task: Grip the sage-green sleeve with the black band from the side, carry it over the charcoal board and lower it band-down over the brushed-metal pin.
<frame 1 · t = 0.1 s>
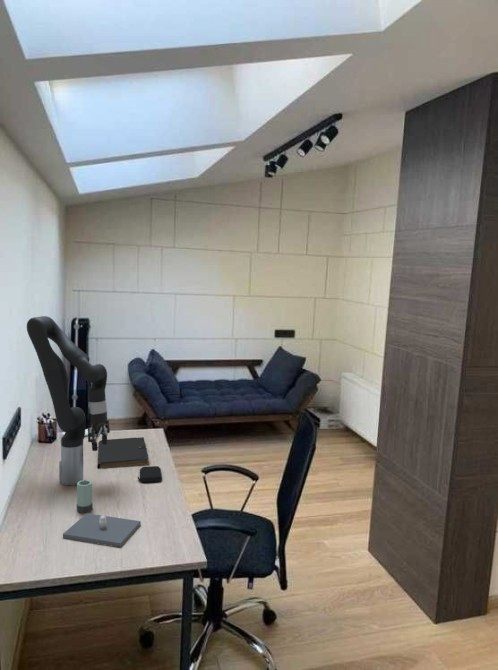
hand: (99, 447, 218), 17 cm above the table, tool pointing down, fingers open, 8 cm apart
dark grey book: (122, 456, 257), on the table
sleeve: (84, 509, 197), on the table
carrying case or bag: (149, 478, 231), on the table
pin board: (102, 531, 181), on the table
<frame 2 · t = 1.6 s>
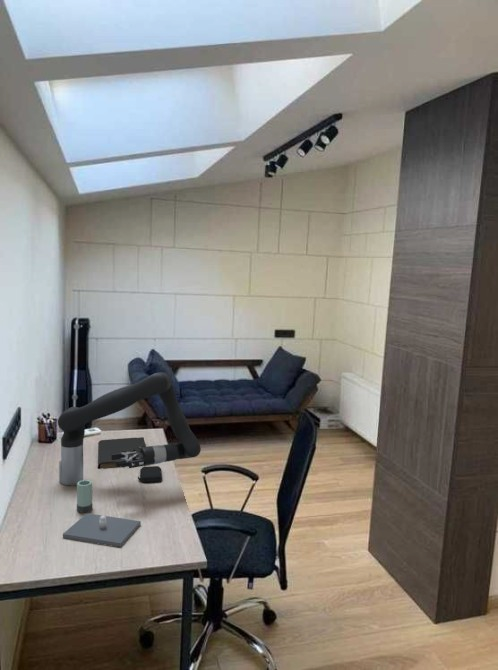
hand: (113, 461, 200), 18 cm above the table, tool horizontal, fingers open, 8 cm apart
nothing on the table moved.
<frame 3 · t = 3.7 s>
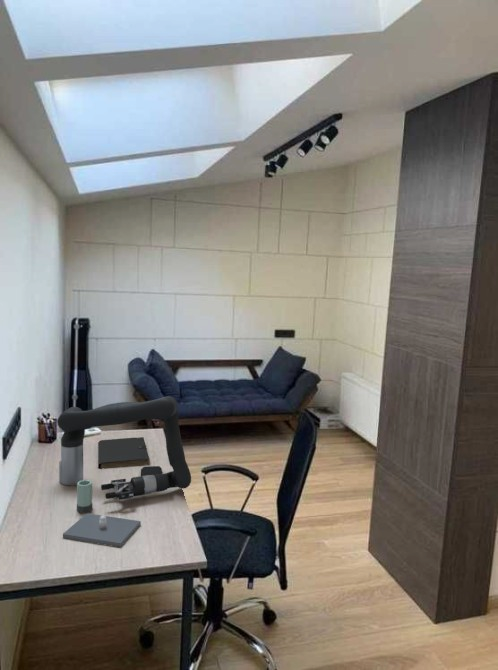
hand: (103, 491, 200), 6 cm above the table, tool horizontal, fingers open, 8 cm apart
nothing on the table moved.
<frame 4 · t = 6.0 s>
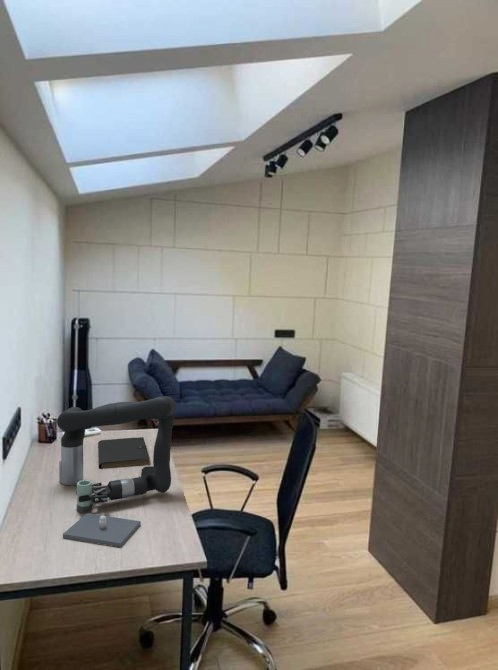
hand: (77, 496, 195), 6 cm above the table, tool horizontal, fingers closed on sleeve, 5 cm apart
sleeve: (84, 509, 197), on the table, touching gripper
everything else where it was.
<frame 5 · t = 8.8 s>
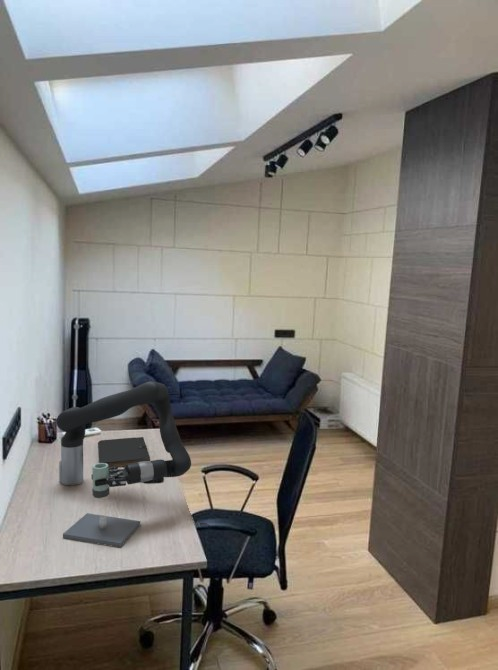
hand: (93, 480, 182), 18 cm above the table, tool horizontal, fingers closed on sleeve, 5 cm apart
sleeve: (100, 494, 184), point 12 cm above the table, touching gripper
everything else where it was.
when the fingers open (9 cm above the table, at t = 11.8 s): sleeve drops 1 cm, resting on pin board.
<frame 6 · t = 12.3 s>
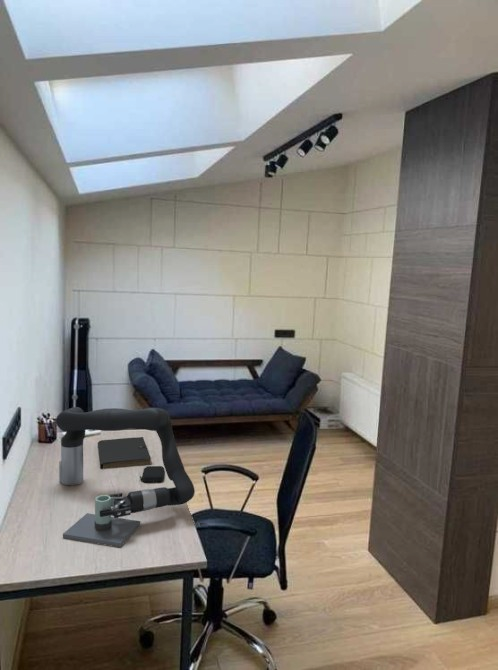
hand: (97, 508, 179), 9 cm above the table, tool horizontal, fingers open, 8 cm apart
sleeve: (103, 527, 181), point 1 cm above the table, touching pin board
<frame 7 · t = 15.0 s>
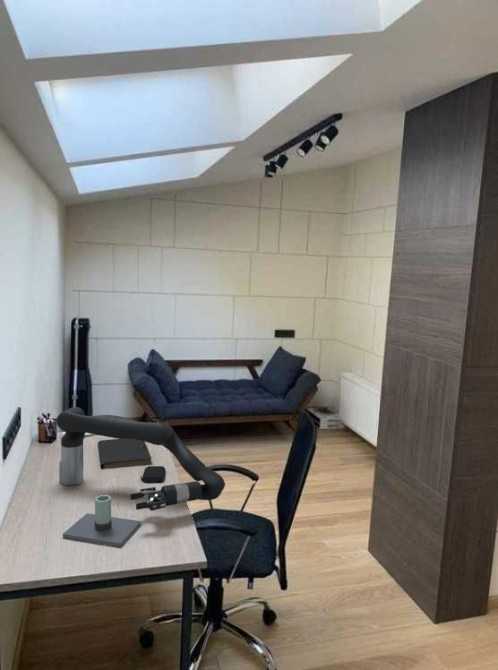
hand: (133, 501, 185), 9 cm above the table, tool horizontal, fingers open, 8 cm apart
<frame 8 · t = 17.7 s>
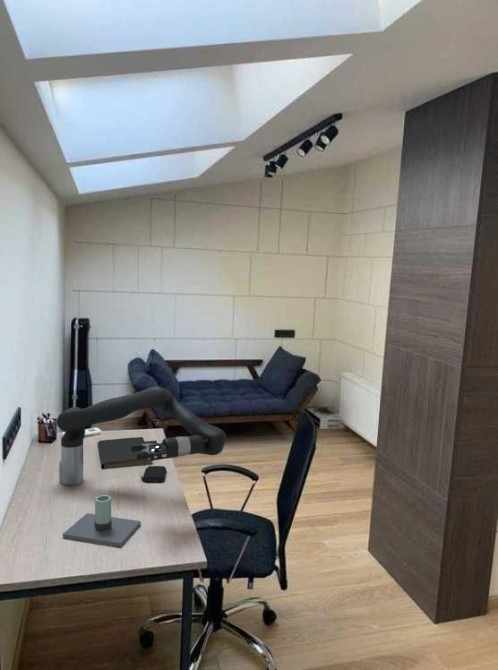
hand: (134, 452, 183), 28 cm above the table, tool horizontal, fingers open, 8 cm apart
at the end: sleeve 0.1 cm off-centre on the pin board, point 1.5 cm above the pin board's base; sleeve tilted 0°; the gripper is holding nothing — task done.
